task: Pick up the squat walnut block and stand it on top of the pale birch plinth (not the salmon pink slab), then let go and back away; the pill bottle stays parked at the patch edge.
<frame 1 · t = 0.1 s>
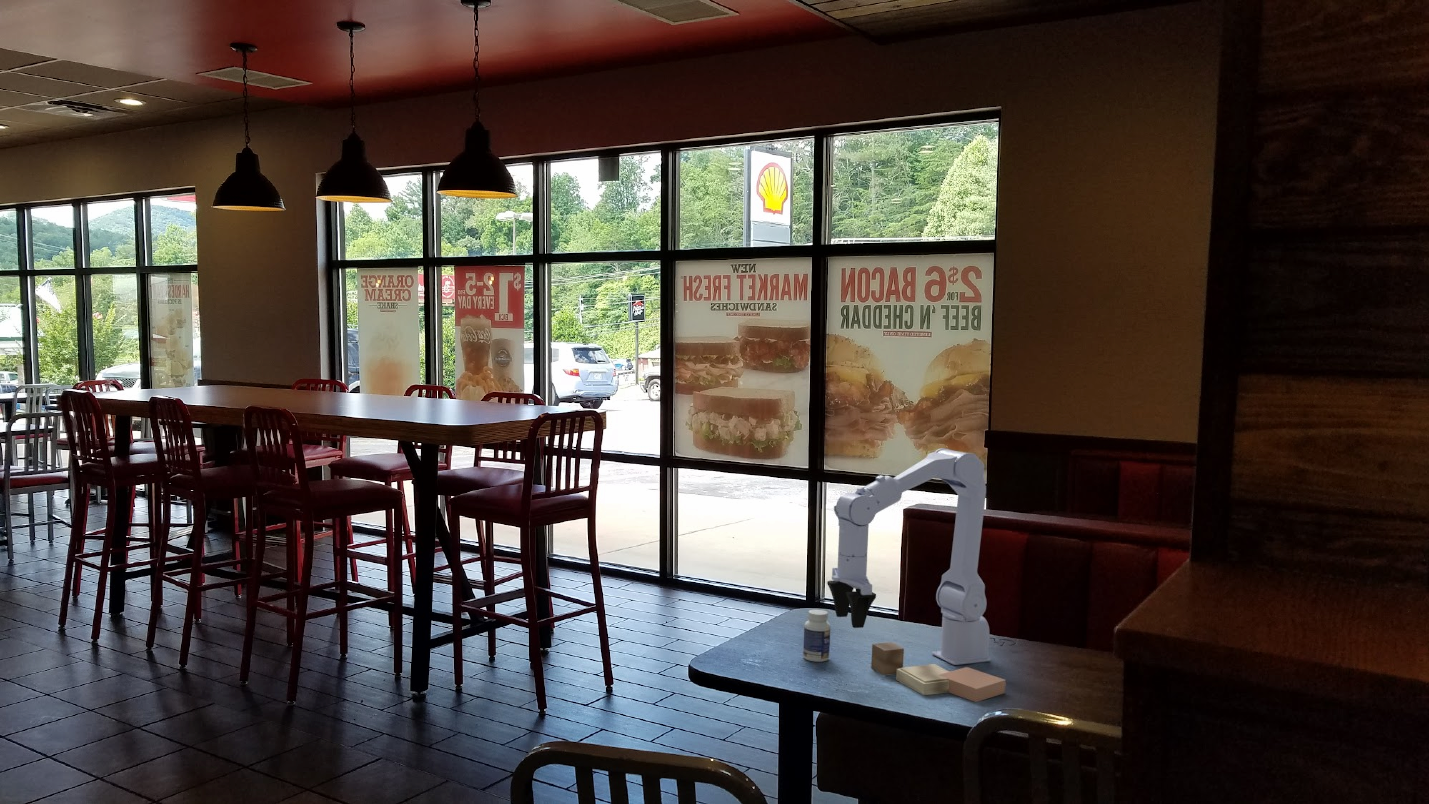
hand: (849, 621, 200), 10 cm above the table, fingers open, 7 cm apart
salmon pink slab: (970, 690, 193), on the table
birch plinth: (929, 685, 195), on the table
pill bottle: (816, 659, 209), on the table
walnut block: (886, 670, 203), on the table
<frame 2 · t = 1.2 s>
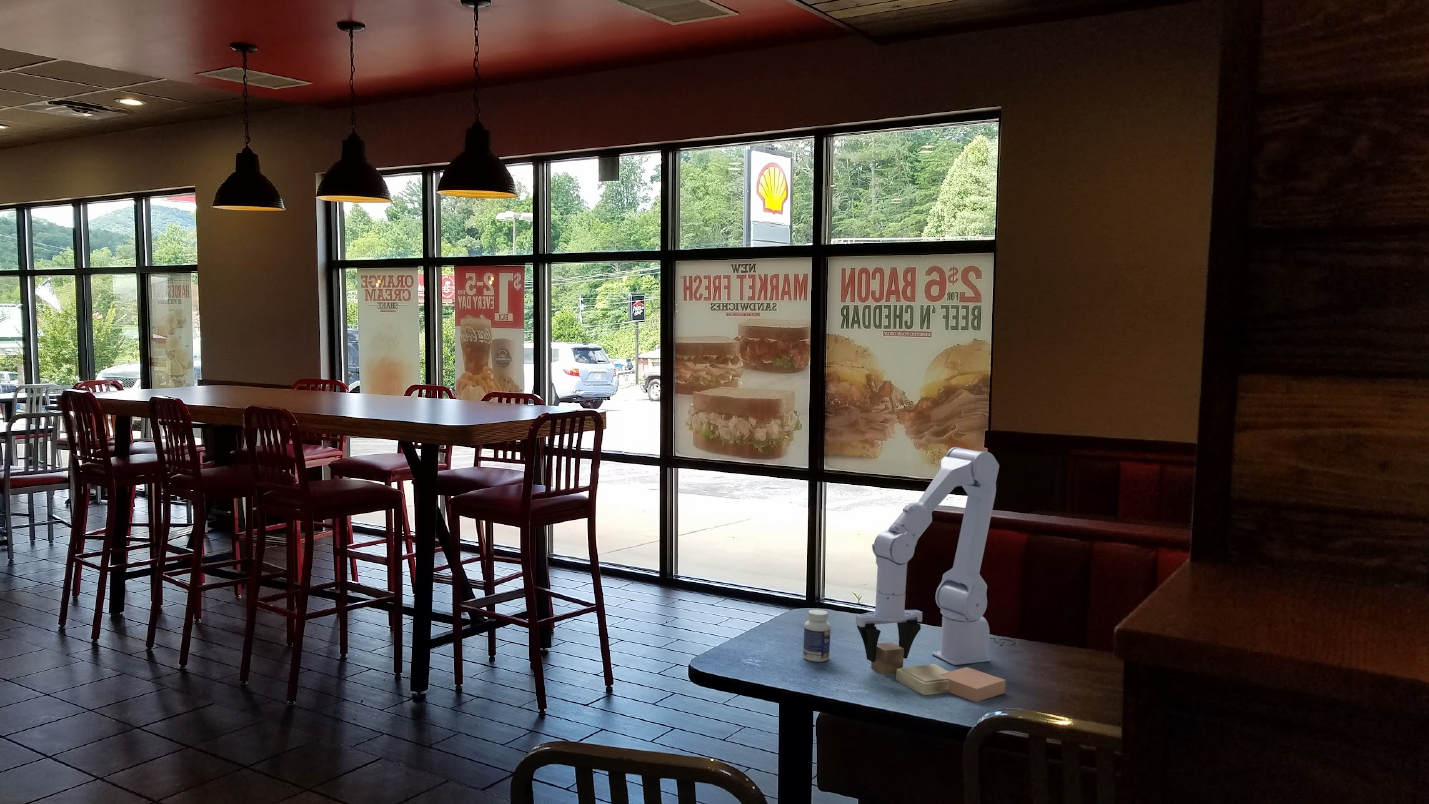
hand: (887, 658, 202), 2 cm above the table, fingers open, 7 cm apart
nothing on the table moved.
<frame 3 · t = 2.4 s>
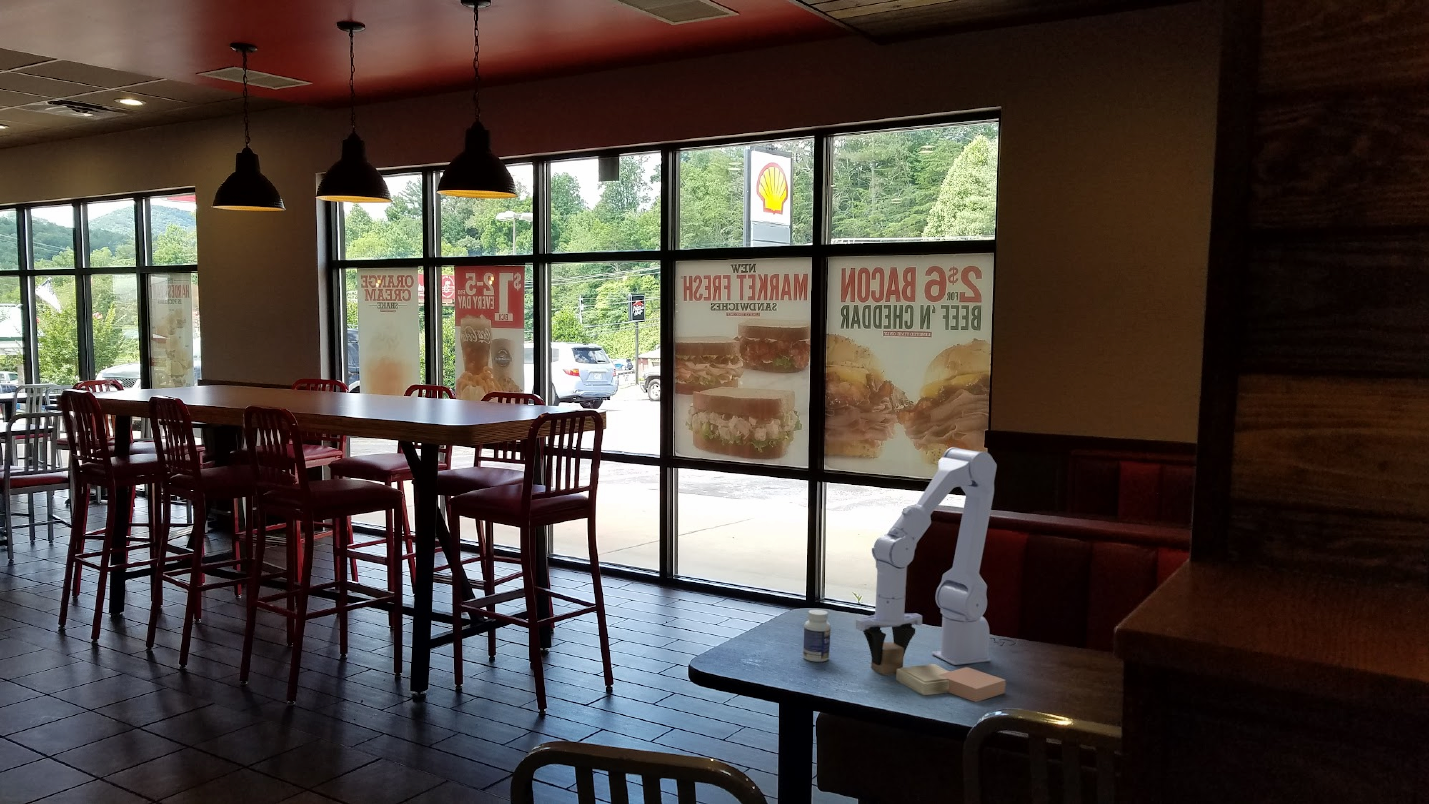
hand: (887, 662, 203), 2 cm above the table, fingers closed on walnut block, 4 cm apart
walnut block: (886, 670, 203), on the table, touching gripper
everything else where it was.
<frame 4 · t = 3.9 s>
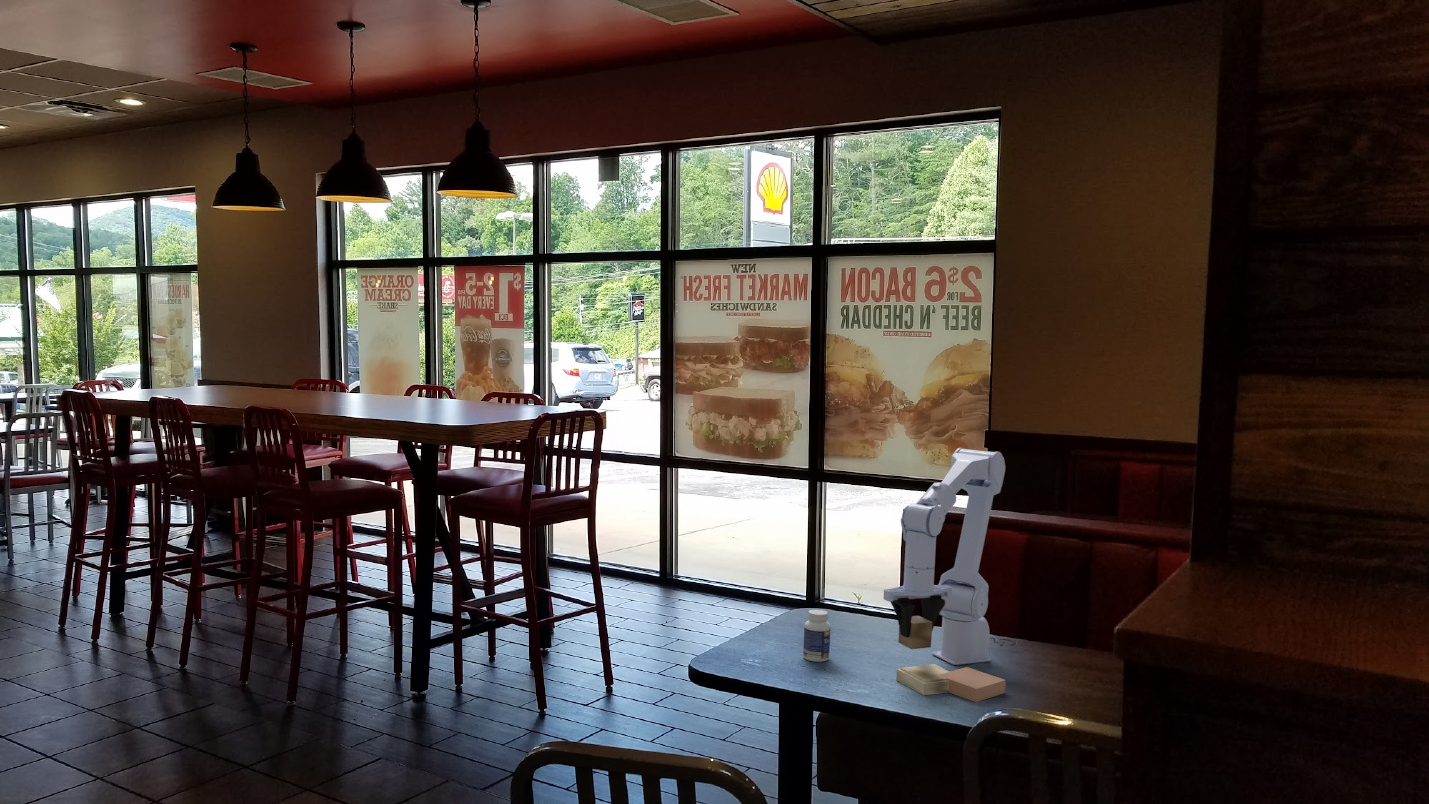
hand: (915, 634, 197), 9 cm above the table, fingers closed on walnut block, 4 cm apart
walnut block: (914, 644, 197), point 7 cm above the table, touching gripper
everything else where it was.
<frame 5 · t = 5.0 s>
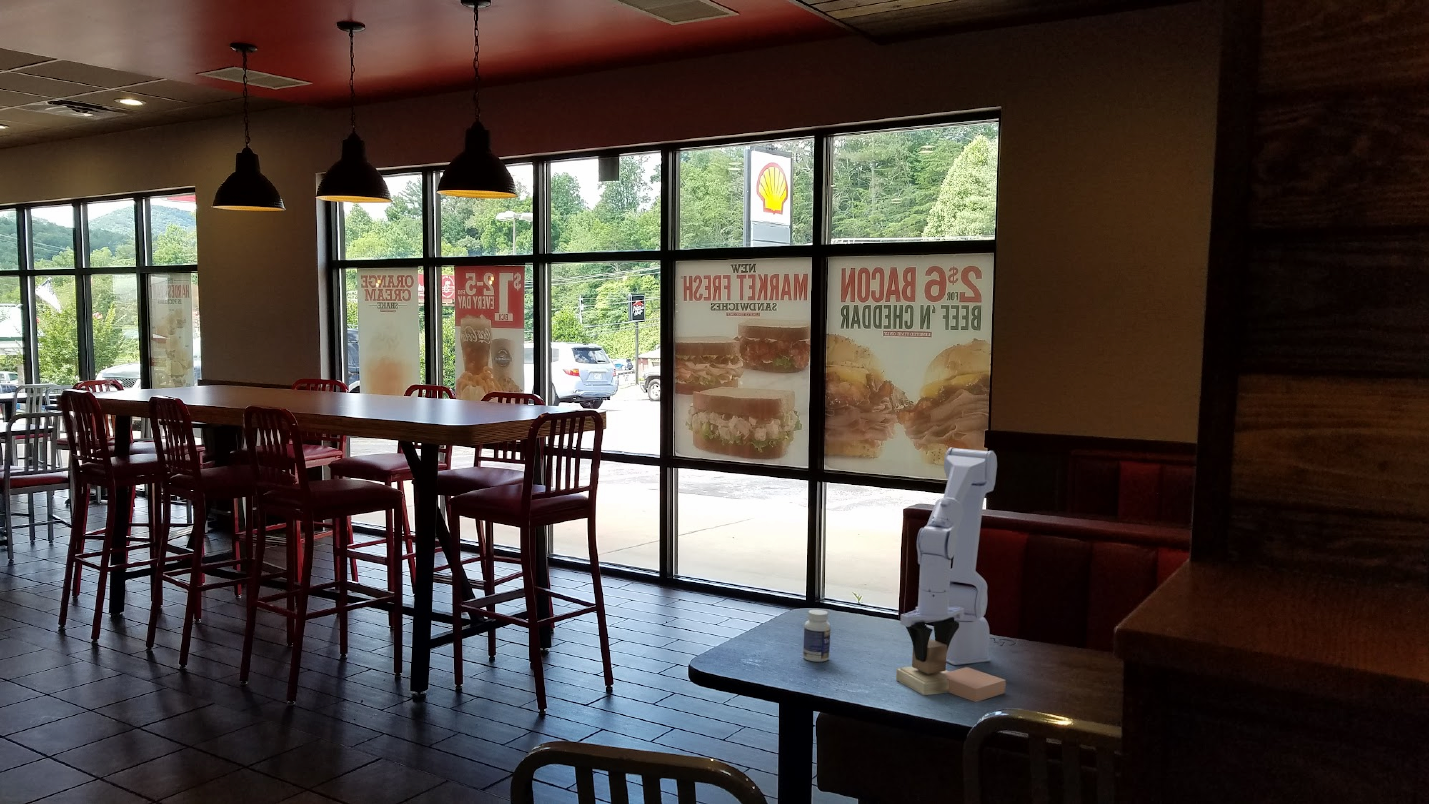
hand: (930, 658, 194), 5 cm above the table, fingers closed on walnut block, 4 cm apart
walnut block: (928, 668, 195), point 3 cm above the table, touching gripper
everything else where it was.
when the fingers open (5 cm above the table, at t = 5.7 s): walnut block stays where it is, resting on birch plinth, salmon pink slab.
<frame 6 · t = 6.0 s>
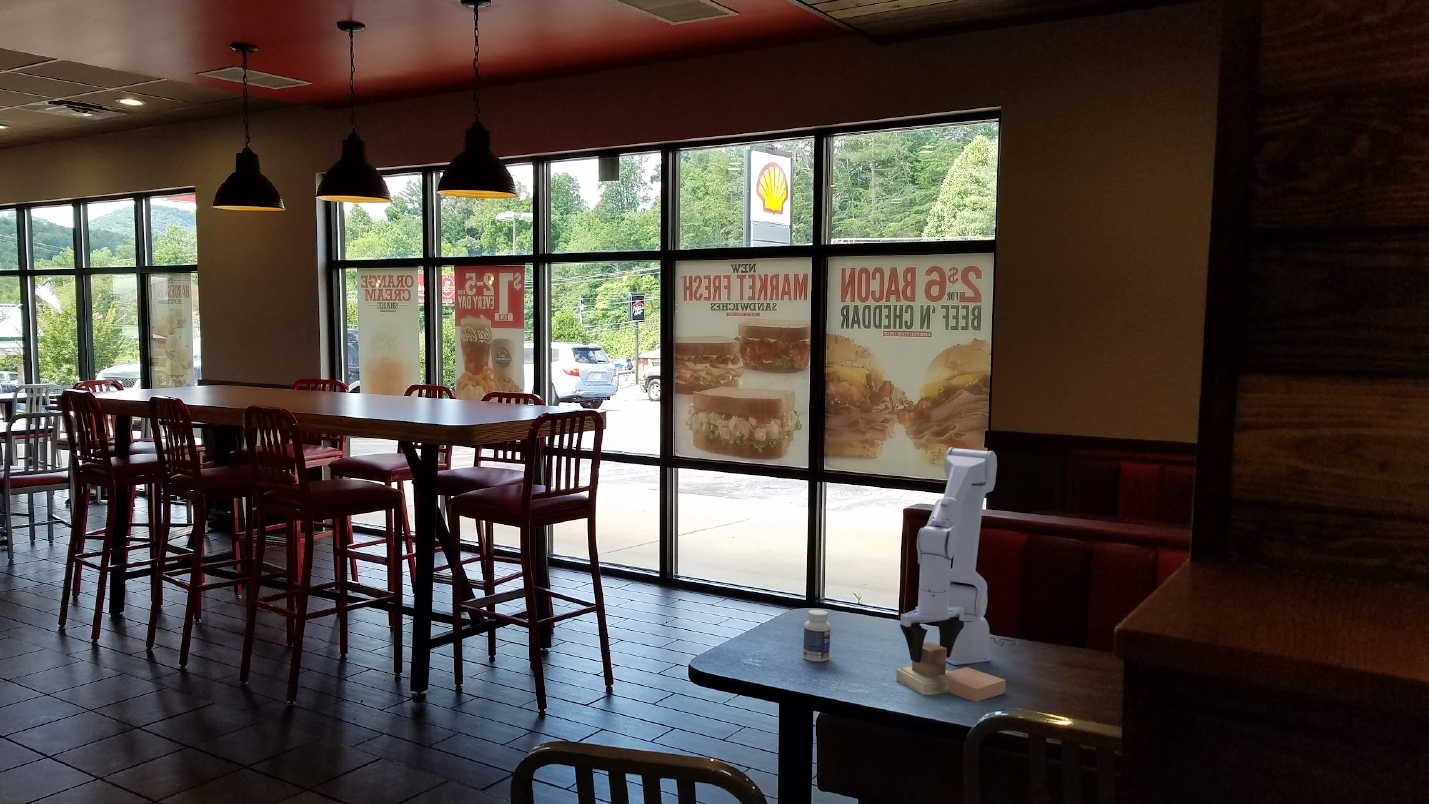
hand: (930, 658, 194), 5 cm above the table, fingers open, 7 cm apart
walnut block: (928, 671, 195), point 2 cm above the table, touching birch plinth, salmon pink slab
everything else where it was.
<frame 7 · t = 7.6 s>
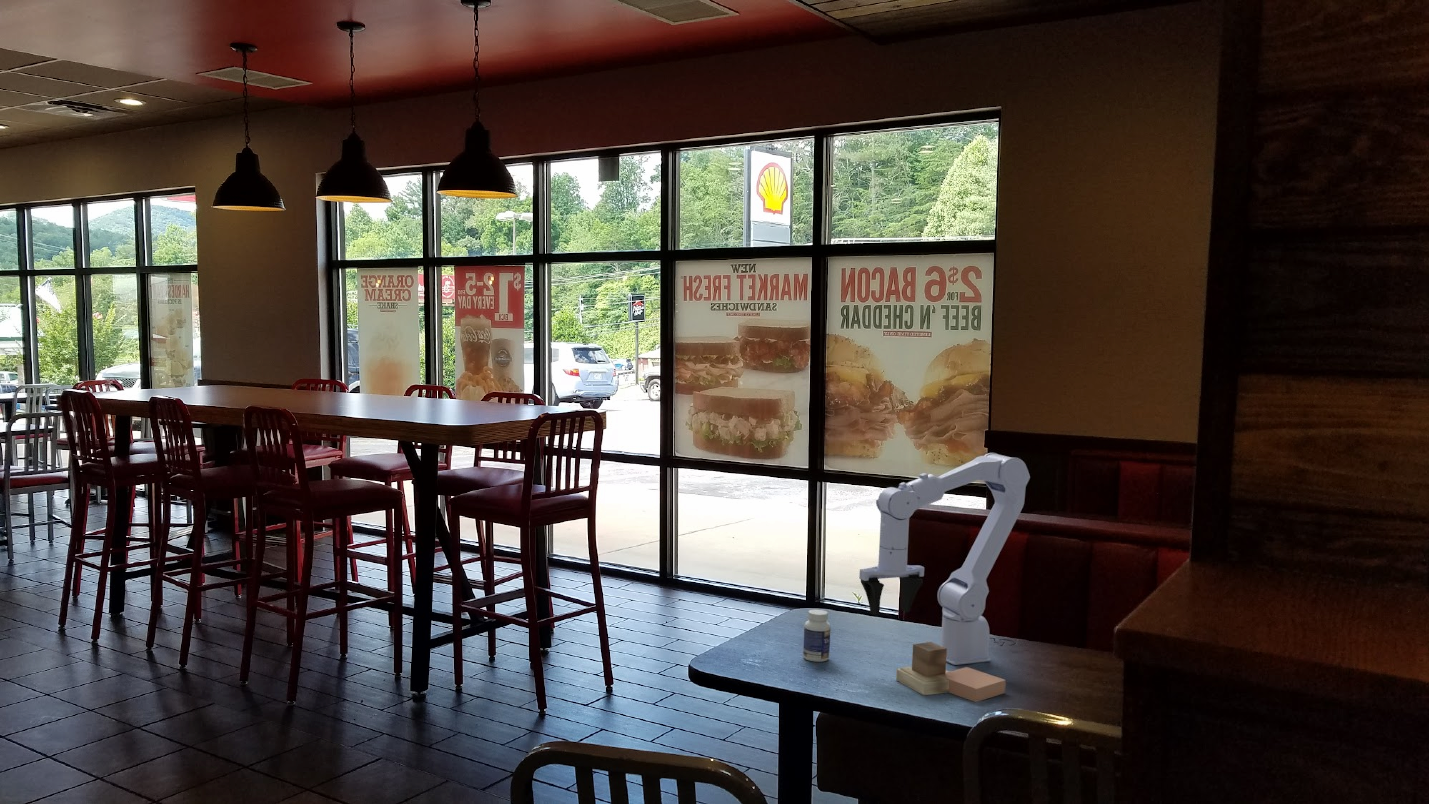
hand: (890, 612, 207), 10 cm above the table, fingers open, 7 cm apart
nothing on the table moved.
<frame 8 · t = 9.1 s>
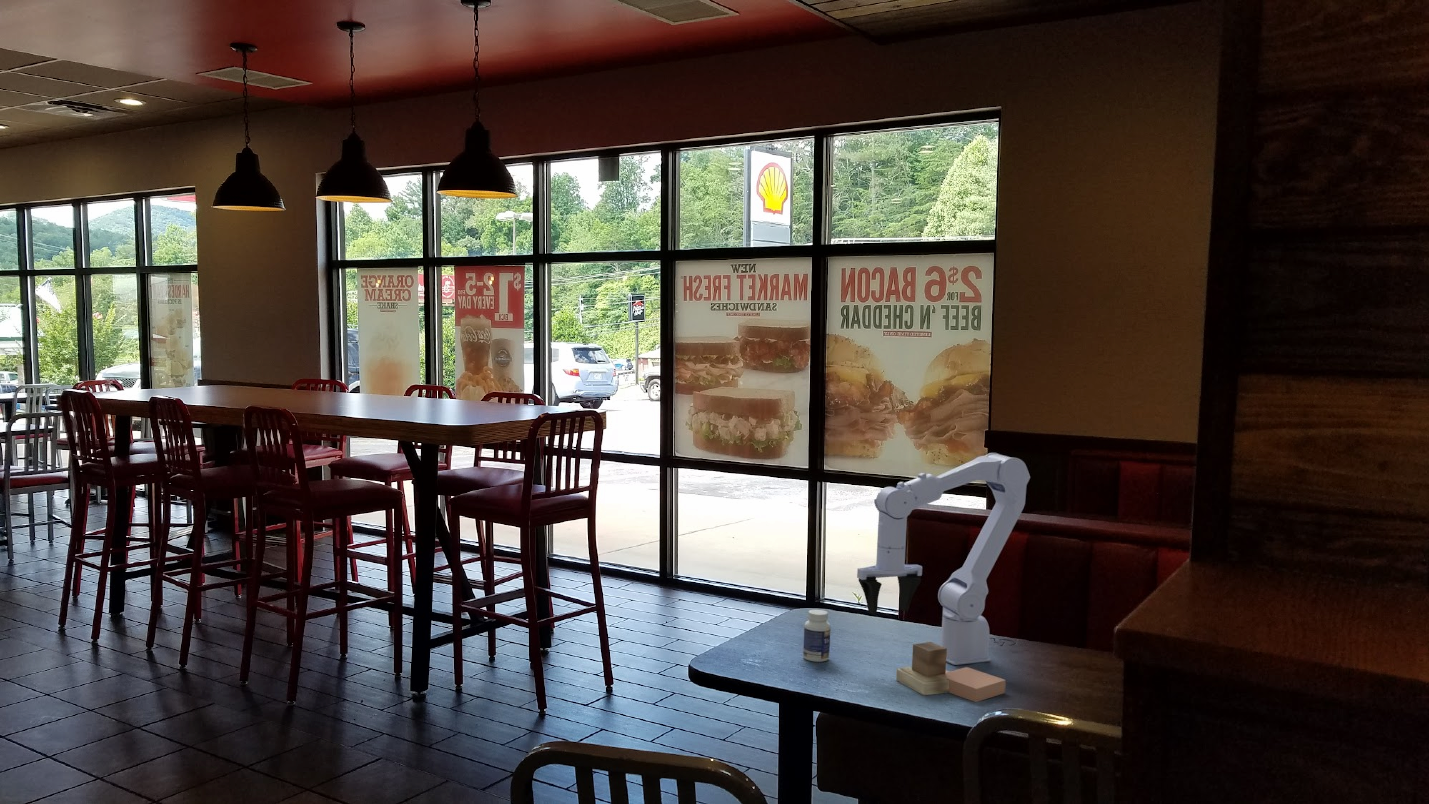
hand: (888, 611, 208), 10 cm above the table, fingers open, 7 cm apart
nothing on the table moved.
at the end: walnut block 0.3 cm off-centre on the birch plinth, point 2.5 cm above the birch plinth's base; walnut block tilted 0°; the gripper is holding nothing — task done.
